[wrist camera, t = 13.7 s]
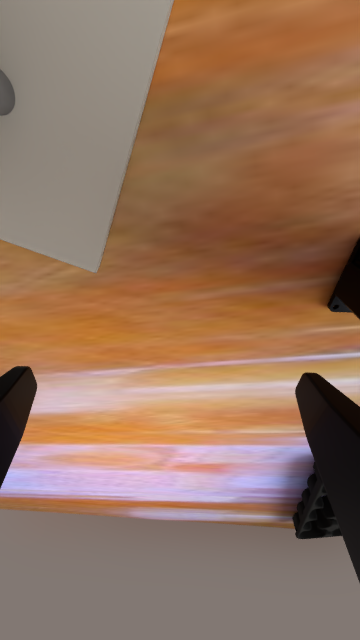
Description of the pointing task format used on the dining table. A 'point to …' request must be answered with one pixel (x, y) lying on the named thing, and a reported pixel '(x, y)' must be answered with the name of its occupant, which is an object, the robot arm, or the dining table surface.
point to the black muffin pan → (315, 511)
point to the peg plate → (71, 117)
